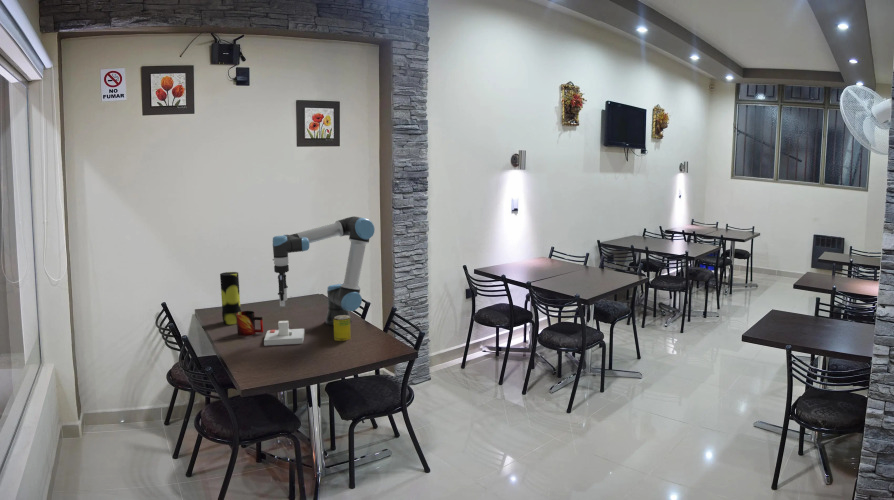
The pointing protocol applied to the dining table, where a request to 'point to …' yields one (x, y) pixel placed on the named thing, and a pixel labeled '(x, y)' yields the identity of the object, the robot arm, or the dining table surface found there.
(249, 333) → the mug
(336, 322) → the yellow can
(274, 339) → the socket
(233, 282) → the container
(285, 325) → the plug
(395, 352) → the dining table surface
